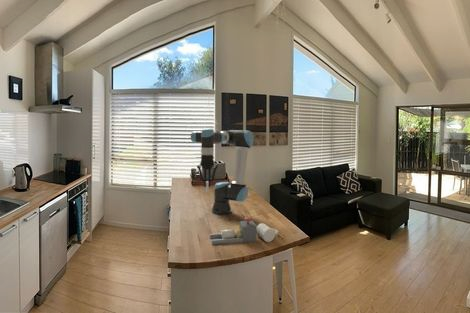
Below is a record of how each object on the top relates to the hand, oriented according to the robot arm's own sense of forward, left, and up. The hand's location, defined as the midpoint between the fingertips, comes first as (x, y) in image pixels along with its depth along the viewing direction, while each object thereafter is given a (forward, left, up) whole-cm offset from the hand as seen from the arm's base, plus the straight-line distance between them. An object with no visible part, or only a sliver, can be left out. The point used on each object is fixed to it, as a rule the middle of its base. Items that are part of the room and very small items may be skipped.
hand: (207, 191), depth 168 cm
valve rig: (+15, +14, -26) cm, 33 cm away
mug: (+14, +36, -27) cm, 47 cm away
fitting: (+15, +11, -25) cm, 31 cm away
